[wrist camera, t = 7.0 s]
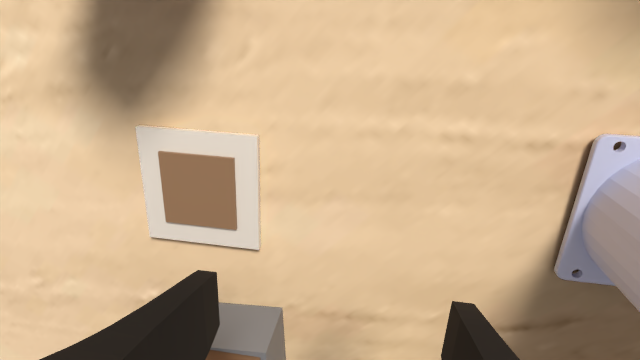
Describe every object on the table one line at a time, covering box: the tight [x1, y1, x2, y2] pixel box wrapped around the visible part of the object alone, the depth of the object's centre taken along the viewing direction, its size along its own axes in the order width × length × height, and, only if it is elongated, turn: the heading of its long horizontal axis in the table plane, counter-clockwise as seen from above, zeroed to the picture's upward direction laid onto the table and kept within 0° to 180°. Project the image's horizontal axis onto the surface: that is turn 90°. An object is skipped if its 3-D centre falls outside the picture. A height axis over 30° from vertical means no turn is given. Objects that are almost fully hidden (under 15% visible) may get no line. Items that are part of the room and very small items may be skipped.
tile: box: [135, 125, 261, 250], centre depth 23 cm, size 7×7×1 cm
